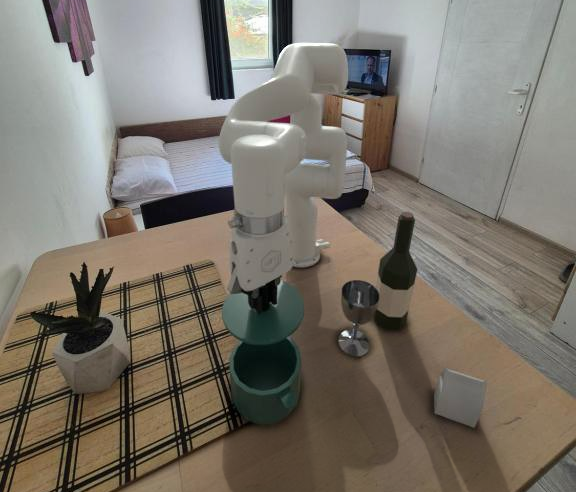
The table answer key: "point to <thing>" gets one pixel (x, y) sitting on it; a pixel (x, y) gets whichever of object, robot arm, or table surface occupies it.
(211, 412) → the table surface
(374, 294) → the wine glass
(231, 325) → the lid
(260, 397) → the pot
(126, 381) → the table surface
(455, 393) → the white box
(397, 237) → the wine bottle
